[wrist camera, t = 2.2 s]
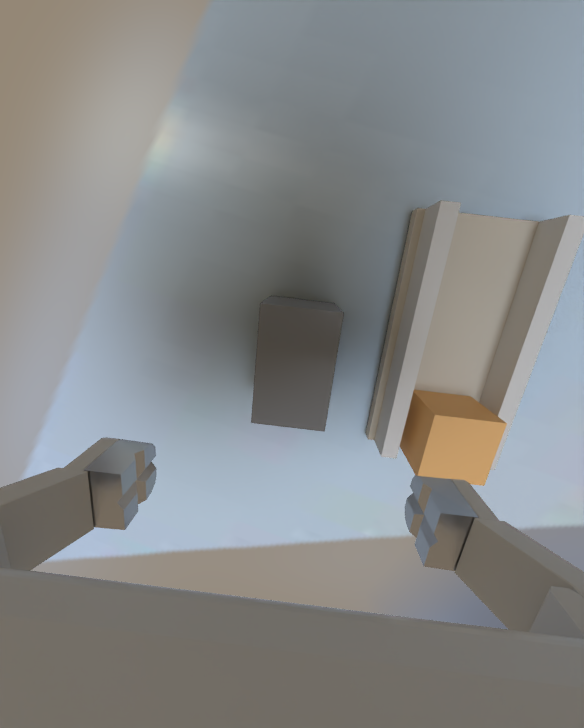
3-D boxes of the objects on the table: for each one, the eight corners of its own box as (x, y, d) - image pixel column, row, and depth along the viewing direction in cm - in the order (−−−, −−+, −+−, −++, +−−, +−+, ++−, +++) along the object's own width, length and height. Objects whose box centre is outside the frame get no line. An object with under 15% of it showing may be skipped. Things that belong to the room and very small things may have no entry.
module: (271, 295, 23) (260, 303, 17) (334, 303, 23) (343, 312, 17) (263, 389, 25) (251, 422, 20) (320, 395, 25) (324, 431, 20)
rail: (412, 211, 21) (448, 189, 16) (553, 226, 21) (637, 211, 15) (365, 433, 26) (380, 473, 21) (477, 446, 26) (520, 490, 21)
